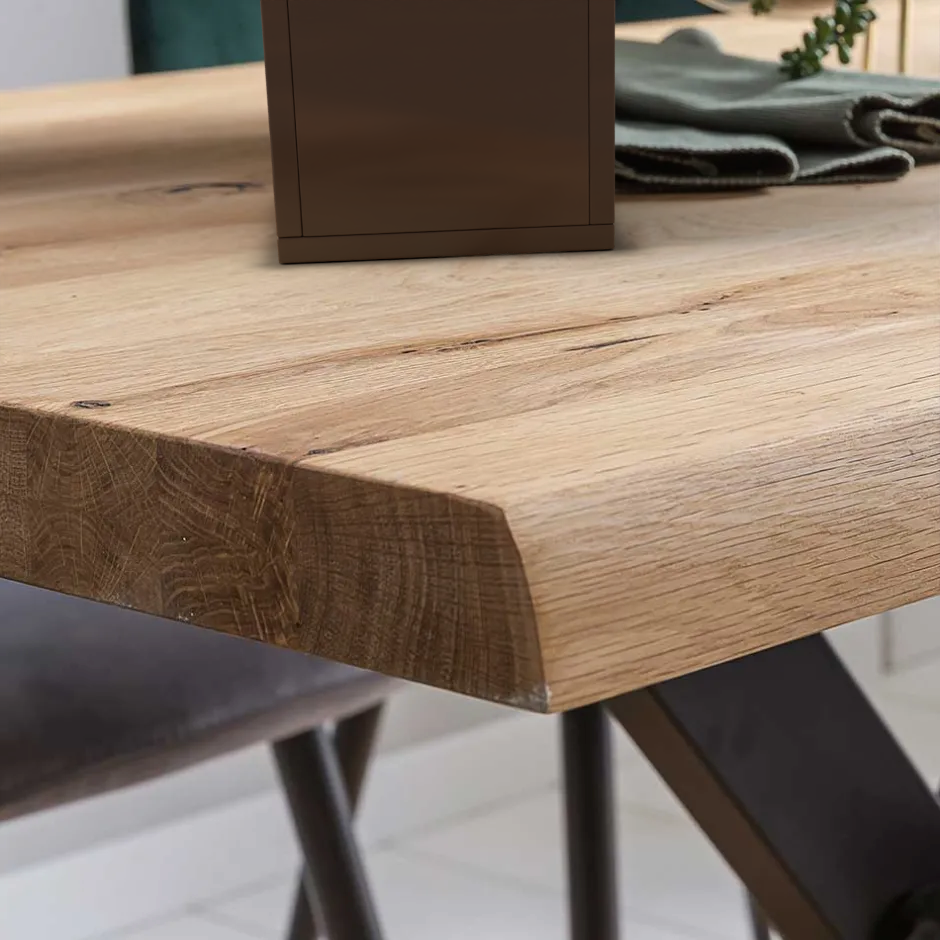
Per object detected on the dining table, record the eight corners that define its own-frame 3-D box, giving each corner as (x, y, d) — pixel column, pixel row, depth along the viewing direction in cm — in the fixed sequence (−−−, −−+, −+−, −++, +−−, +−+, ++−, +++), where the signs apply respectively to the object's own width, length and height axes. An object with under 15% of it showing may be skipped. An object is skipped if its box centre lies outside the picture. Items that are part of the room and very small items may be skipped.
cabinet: (293, 197, 68) (277, -42, 64) (565, 186, 68) (563, -51, 65) (278, 263, 55) (257, -32, 51) (615, 249, 55) (615, -44, 52)
